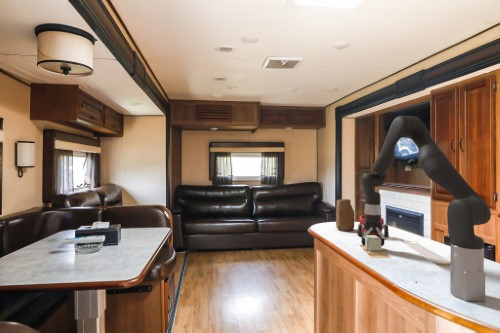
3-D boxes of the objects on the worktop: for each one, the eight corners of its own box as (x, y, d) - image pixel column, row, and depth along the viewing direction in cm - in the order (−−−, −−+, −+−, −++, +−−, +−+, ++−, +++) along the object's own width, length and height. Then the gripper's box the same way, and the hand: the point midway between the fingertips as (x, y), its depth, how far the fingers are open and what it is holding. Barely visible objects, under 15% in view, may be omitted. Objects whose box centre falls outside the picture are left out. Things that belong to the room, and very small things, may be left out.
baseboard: (430, 266, 131) (453, 266, 131) (430, 260, 131) (453, 260, 131) (398, 245, 161) (417, 245, 161) (398, 240, 161) (417, 240, 161)
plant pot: (361, 240, 171) (361, 219, 170) (357, 234, 184) (357, 214, 183) (386, 241, 168) (386, 219, 168) (380, 235, 181) (380, 215, 181)
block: (338, 231, 191) (338, 200, 190) (335, 228, 198) (335, 198, 198) (355, 231, 191) (355, 200, 190) (351, 228, 199) (351, 198, 198)
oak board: (391, 261, 136) (391, 257, 136) (371, 260, 137) (371, 257, 137) (376, 247, 156) (376, 244, 156) (359, 247, 157) (359, 244, 157)
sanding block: (381, 252, 145) (381, 239, 145) (369, 251, 145) (369, 239, 145) (375, 247, 153) (375, 235, 152) (364, 246, 153) (364, 235, 153)
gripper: (360, 214, 145) (360, 247, 145) (390, 214, 144) (390, 248, 144) (356, 211, 152) (356, 243, 153) (384, 211, 151) (385, 243, 152)
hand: (372, 245), depth 148 cm, fingers open, 8 cm apart
